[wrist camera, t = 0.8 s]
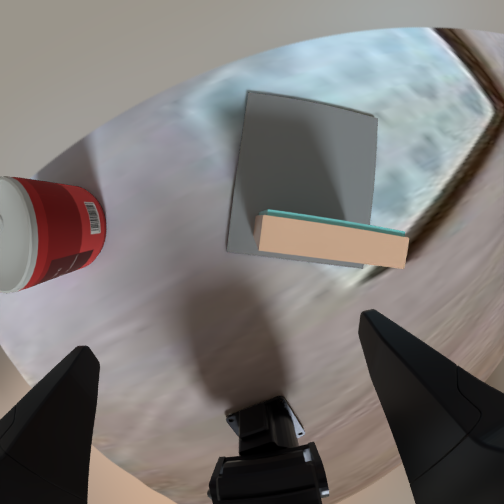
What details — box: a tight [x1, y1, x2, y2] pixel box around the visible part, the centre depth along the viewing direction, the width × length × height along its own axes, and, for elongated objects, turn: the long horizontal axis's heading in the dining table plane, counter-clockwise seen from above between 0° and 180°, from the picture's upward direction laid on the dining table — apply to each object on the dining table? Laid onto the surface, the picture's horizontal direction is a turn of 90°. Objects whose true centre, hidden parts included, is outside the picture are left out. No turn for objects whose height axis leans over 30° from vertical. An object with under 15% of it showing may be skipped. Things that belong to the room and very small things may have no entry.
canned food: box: [0, 176, 106, 294], centre depth 18 cm, size 8×8×11 cm
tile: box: [253, 209, 409, 269], centre depth 19 cm, size 2×8×10 cm, turn 83°
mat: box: [227, 92, 378, 269], centre depth 23 cm, size 14×12×1 cm
